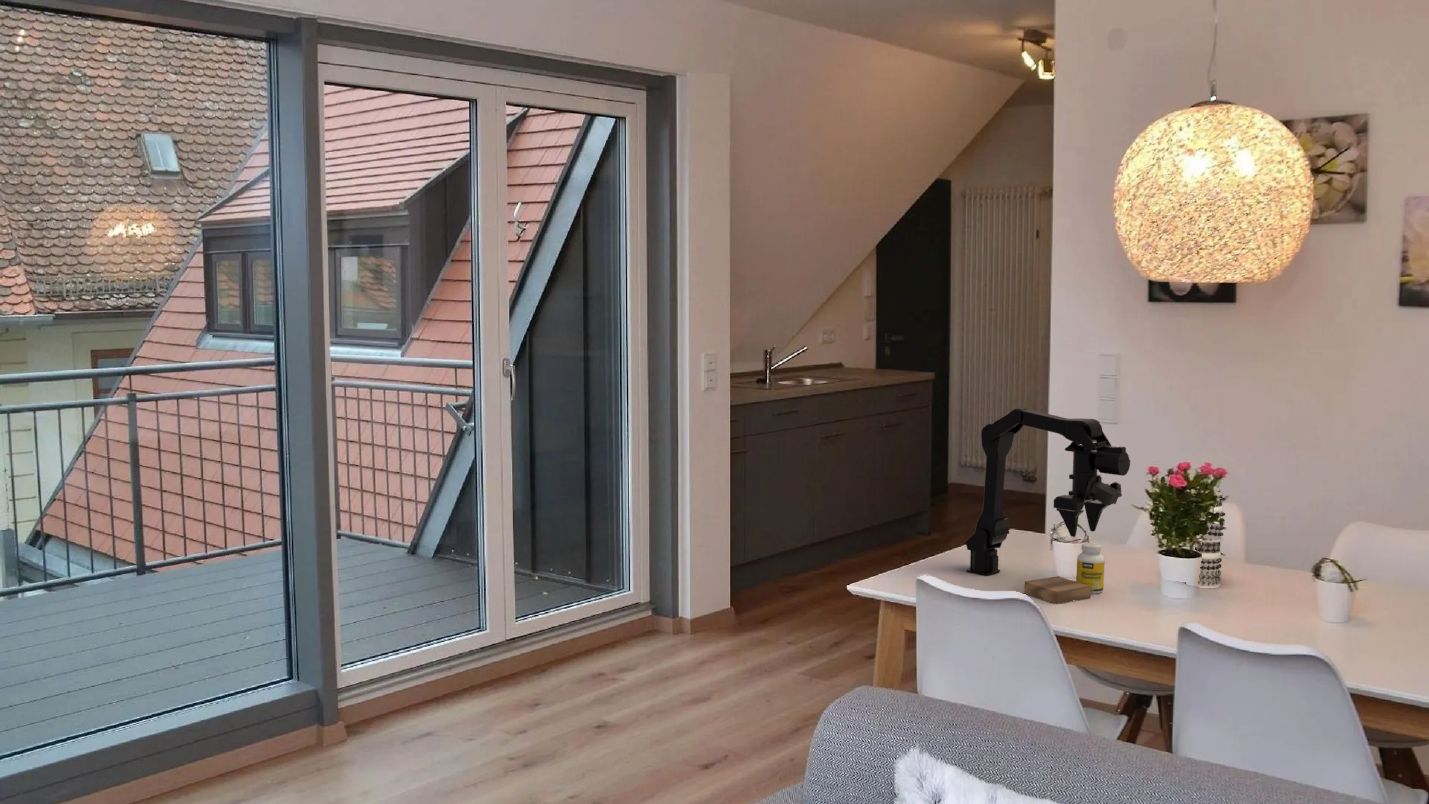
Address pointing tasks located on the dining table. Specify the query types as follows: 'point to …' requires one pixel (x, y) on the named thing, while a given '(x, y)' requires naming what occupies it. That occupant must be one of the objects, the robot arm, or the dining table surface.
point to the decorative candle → (1211, 552)
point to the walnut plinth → (1057, 589)
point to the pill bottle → (1091, 567)
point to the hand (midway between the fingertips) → (1082, 533)
